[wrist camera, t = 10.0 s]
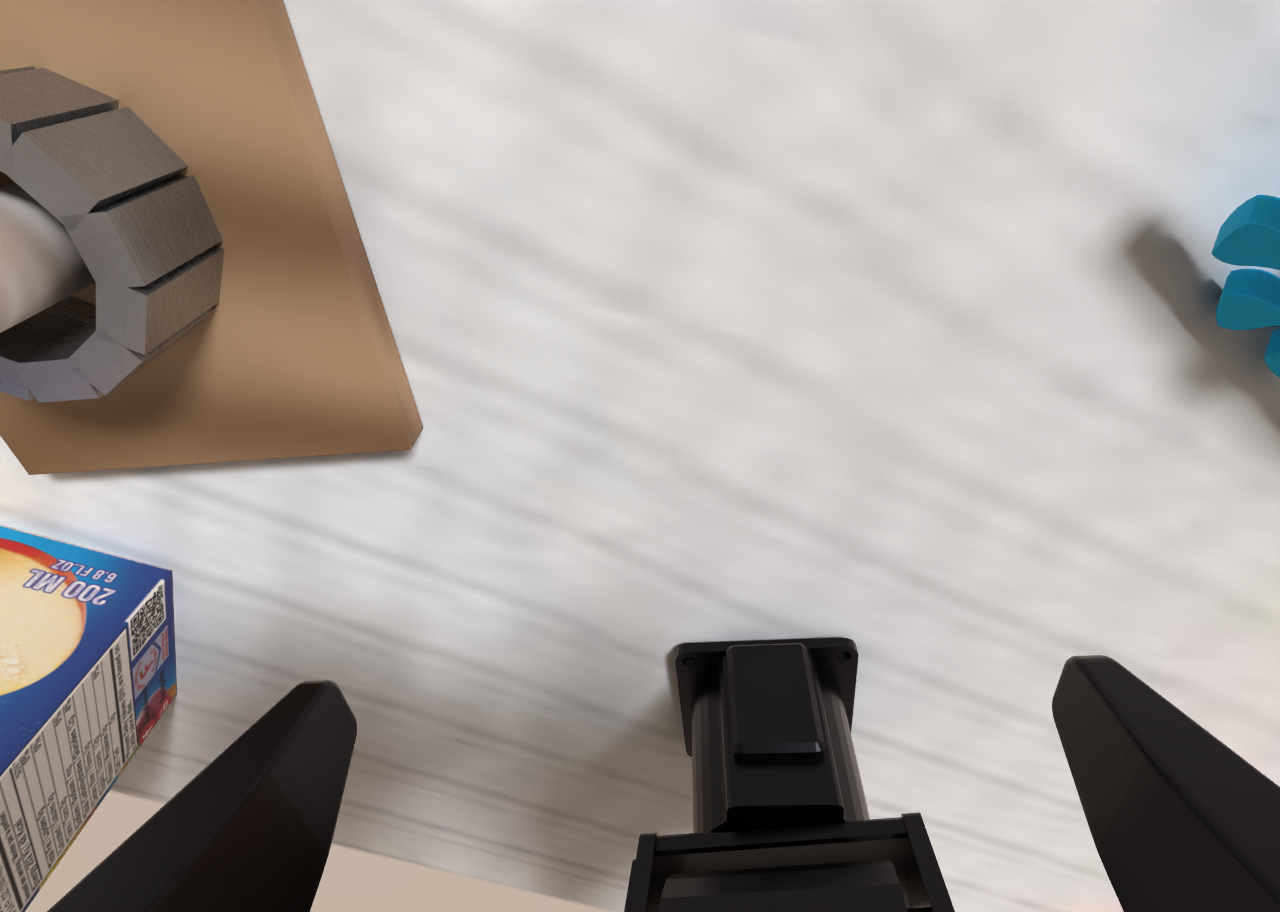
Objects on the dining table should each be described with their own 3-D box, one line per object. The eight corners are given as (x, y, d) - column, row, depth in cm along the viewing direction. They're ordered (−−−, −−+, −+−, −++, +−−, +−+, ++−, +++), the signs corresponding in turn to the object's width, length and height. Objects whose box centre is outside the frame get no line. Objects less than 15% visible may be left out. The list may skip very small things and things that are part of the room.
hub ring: (263, 334, 18) (199, 390, 16) (39, 352, 19) (-58, 409, 16) (140, 52, 15) (32, 68, 12) (-131, 87, 15) (-286, 108, 13)
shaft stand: (423, 427, 21) (341, 571, 16) (58, 452, 22) (-127, 594, 17) (217, -199, 13) (-68, -305, 8) (-328, -110, 15) (-872, -154, 9)
